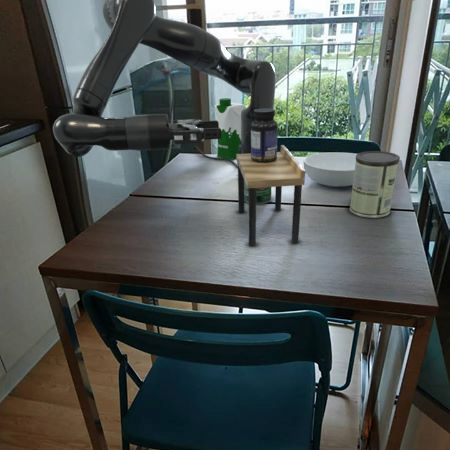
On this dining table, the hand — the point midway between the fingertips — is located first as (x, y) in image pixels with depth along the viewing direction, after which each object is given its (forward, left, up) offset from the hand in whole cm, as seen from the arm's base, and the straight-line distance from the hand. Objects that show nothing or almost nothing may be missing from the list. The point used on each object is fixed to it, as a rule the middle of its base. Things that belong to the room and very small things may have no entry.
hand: (219, 129), depth 100 cm
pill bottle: (+7, +7, -8) cm, 13 cm away
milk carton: (-39, +50, -23) cm, 67 cm away
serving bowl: (+8, +44, -23) cm, 50 cm away
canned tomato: (-3, +18, -23) cm, 29 cm away
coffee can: (+26, +28, -23) cm, 45 cm away
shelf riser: (+10, +4, -22) cm, 25 cm away
